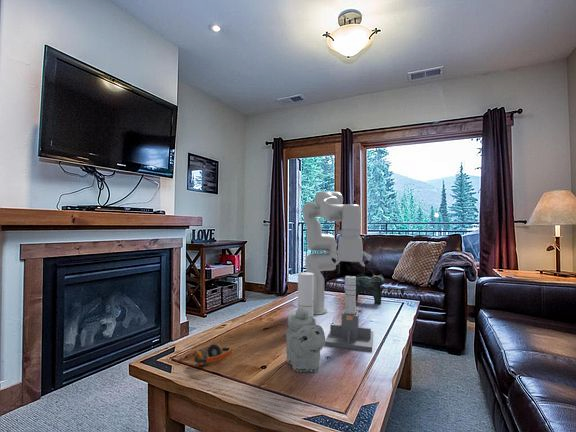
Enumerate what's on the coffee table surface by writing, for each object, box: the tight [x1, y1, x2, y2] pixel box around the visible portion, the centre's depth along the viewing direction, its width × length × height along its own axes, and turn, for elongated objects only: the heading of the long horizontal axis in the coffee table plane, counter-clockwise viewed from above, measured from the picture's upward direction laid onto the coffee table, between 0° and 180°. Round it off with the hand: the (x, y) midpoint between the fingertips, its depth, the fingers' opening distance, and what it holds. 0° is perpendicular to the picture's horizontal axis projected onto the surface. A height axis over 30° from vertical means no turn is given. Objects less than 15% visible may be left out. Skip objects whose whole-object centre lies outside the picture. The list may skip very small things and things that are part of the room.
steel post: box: [344, 275, 357, 315], centre depth 128 cm, size 4×4×18 cm
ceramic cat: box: [354, 269, 385, 305], centre depth 190 cm, size 20×6×20 cm, turn 58°
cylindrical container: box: [297, 271, 314, 318], centre depth 141 cm, size 7×7×25 cm
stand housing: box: [324, 309, 374, 352], centre depth 128 cm, size 18×18×11 cm
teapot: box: [285, 306, 326, 373], centre depth 103 cm, size 16×15×19 cm
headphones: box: [176, 343, 233, 366], centre depth 107 cm, size 17×5×20 cm
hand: (349, 274), depth 129 cm, fingers open, 9 cm apart
